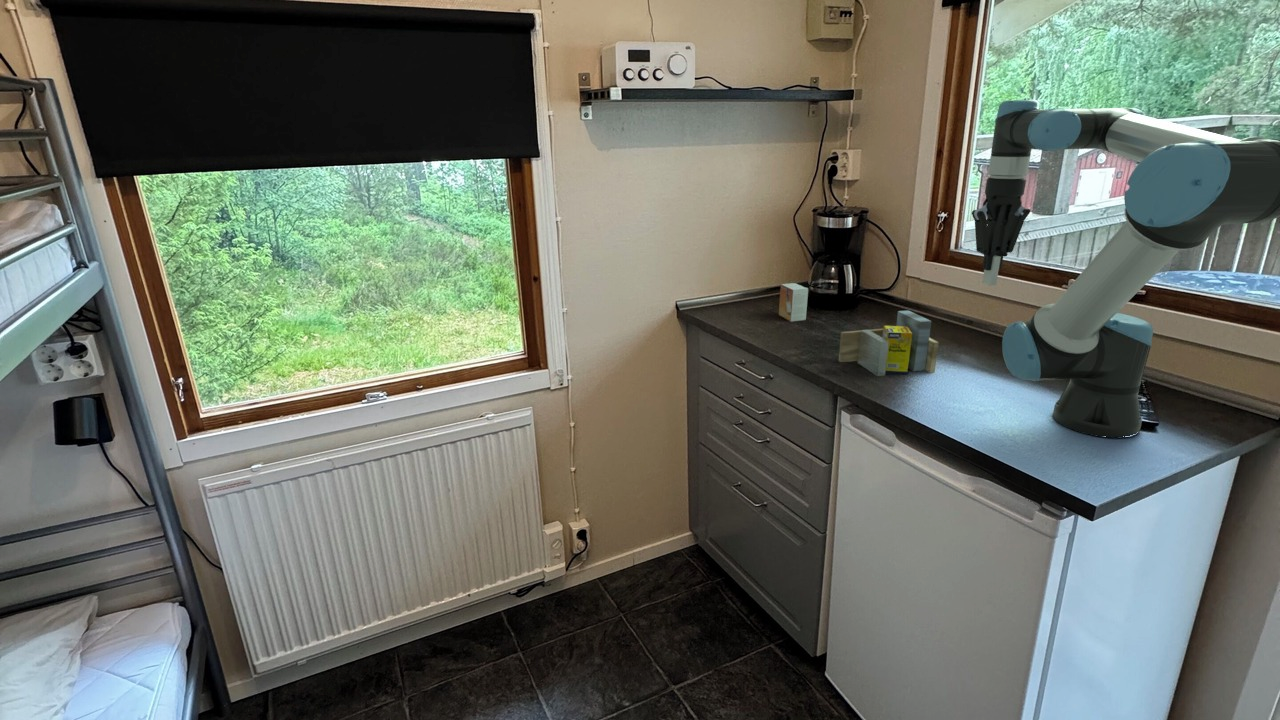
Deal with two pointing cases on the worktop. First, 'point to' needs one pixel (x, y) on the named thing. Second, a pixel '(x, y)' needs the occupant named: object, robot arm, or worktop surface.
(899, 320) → the rack
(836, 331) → the worktop surface
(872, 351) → the bookend
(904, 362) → the supplement box
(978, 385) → the worktop surface
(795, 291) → the small box
